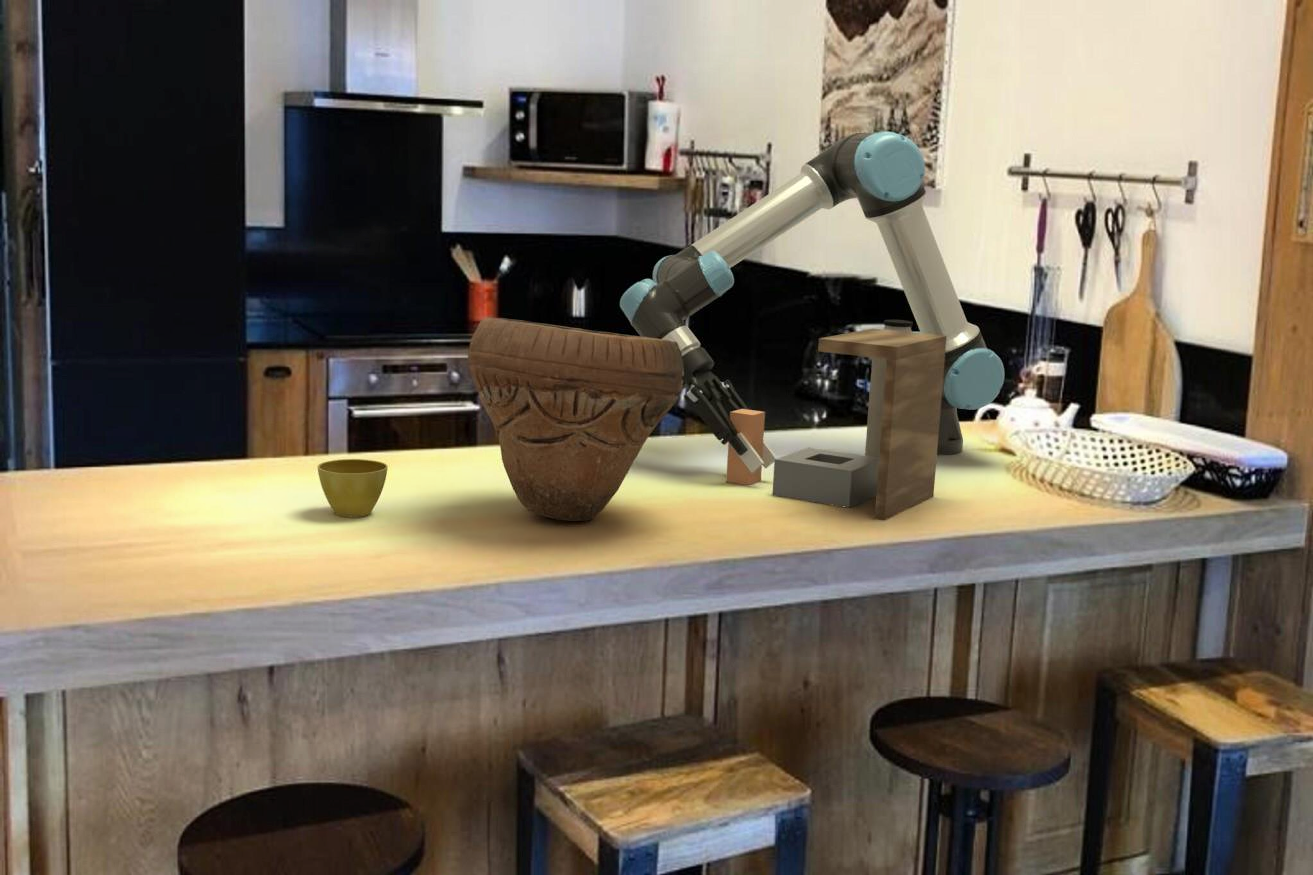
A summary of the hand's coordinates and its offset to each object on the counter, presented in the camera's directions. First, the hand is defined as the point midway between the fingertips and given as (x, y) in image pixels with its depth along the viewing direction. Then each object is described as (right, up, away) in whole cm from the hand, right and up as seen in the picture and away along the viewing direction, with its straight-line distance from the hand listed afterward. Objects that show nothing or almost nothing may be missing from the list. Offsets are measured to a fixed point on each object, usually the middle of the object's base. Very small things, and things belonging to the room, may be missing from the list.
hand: (764, 465), depth 250 cm
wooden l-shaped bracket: (+17, -6, -9) cm, 20 cm away
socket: (+10, -5, -5) cm, 12 cm away
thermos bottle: (+22, -3, +10) cm, 24 cm away
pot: (-31, -7, -28) cm, 42 cm away
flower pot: (-63, -7, -33) cm, 71 cm away
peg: (-3, -3, +2) cm, 5 cm away
